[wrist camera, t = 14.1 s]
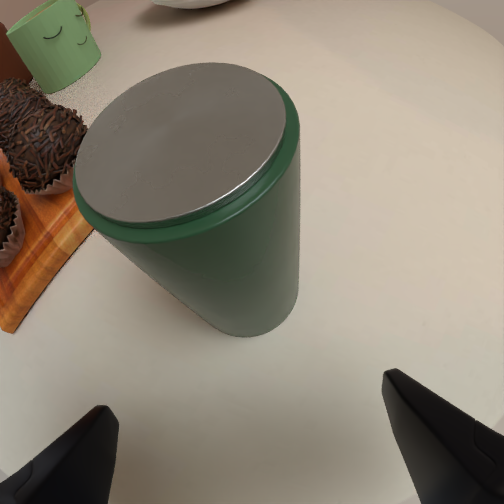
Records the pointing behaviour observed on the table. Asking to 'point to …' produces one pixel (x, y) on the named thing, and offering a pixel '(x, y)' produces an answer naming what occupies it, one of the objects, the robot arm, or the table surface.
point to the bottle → (11, 60)
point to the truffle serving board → (35, 195)
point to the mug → (55, 43)
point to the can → (201, 190)
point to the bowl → (189, 3)
